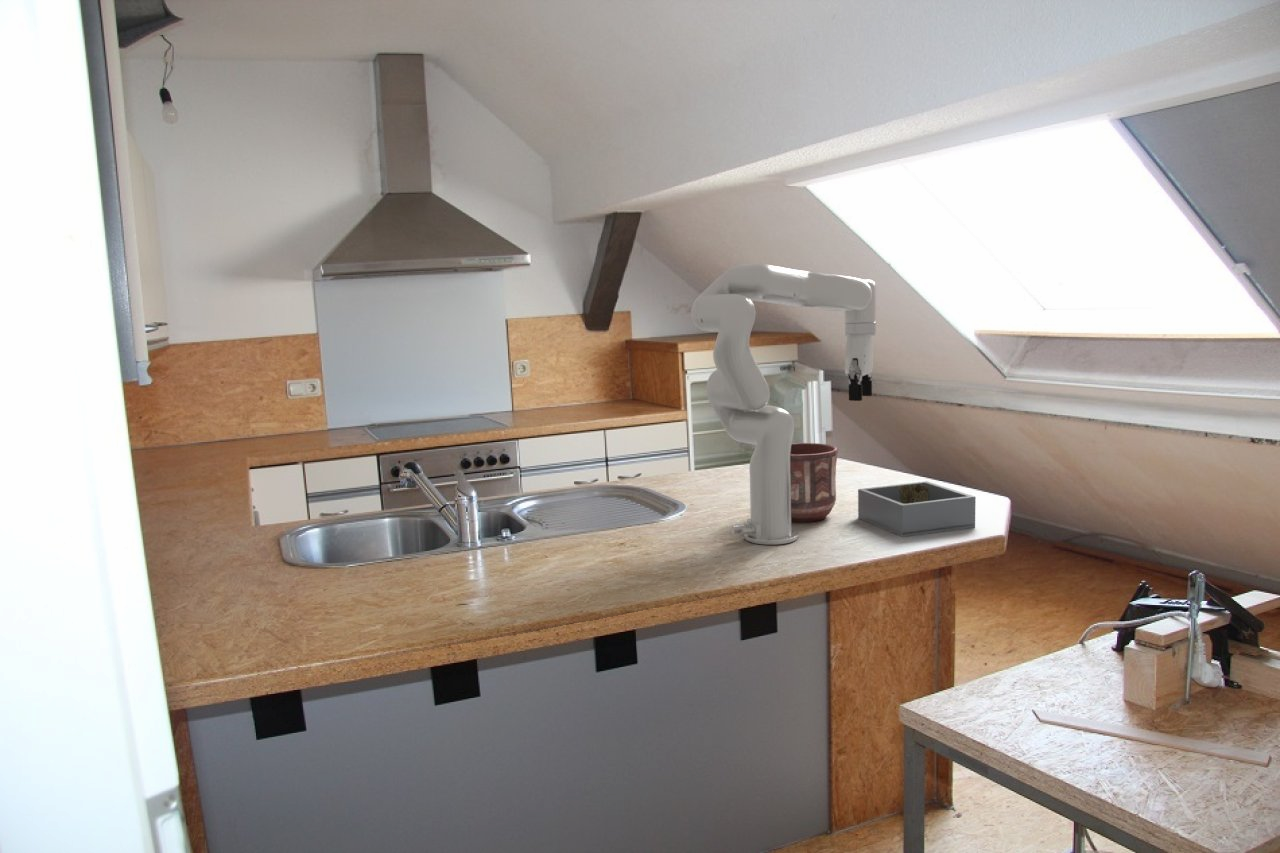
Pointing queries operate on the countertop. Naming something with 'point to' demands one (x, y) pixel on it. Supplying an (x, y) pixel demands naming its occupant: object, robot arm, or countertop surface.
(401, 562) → the countertop surface
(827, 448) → the pottery
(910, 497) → the brown patterned lamp shade
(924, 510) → the crate
